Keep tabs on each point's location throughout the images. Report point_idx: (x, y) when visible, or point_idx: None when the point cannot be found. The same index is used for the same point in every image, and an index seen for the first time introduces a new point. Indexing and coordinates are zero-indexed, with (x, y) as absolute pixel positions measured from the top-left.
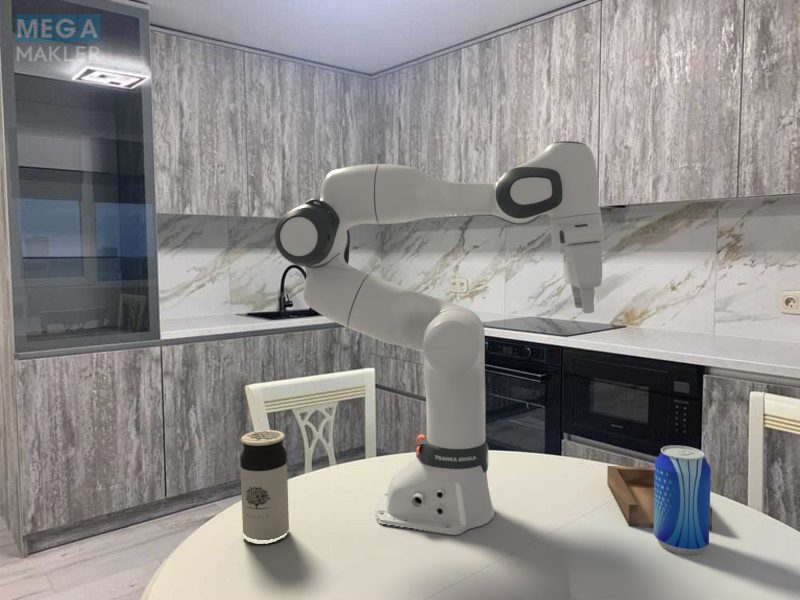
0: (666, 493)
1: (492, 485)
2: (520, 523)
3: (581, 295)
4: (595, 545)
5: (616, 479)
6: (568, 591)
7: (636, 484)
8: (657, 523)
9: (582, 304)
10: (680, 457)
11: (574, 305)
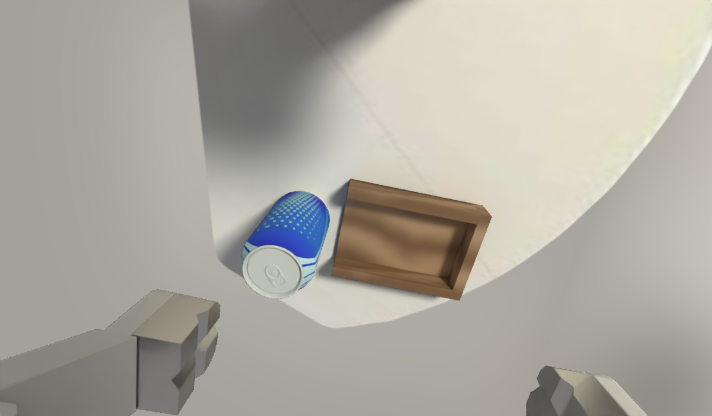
0: (267, 218)
1: (525, 12)
2: (371, 28)
3: (5, 380)
4: (303, 117)
5: (435, 207)
6: (196, 44)
7: (461, 239)
8: (293, 197)
9: (127, 324)
10: (246, 258)
11: (608, 380)
